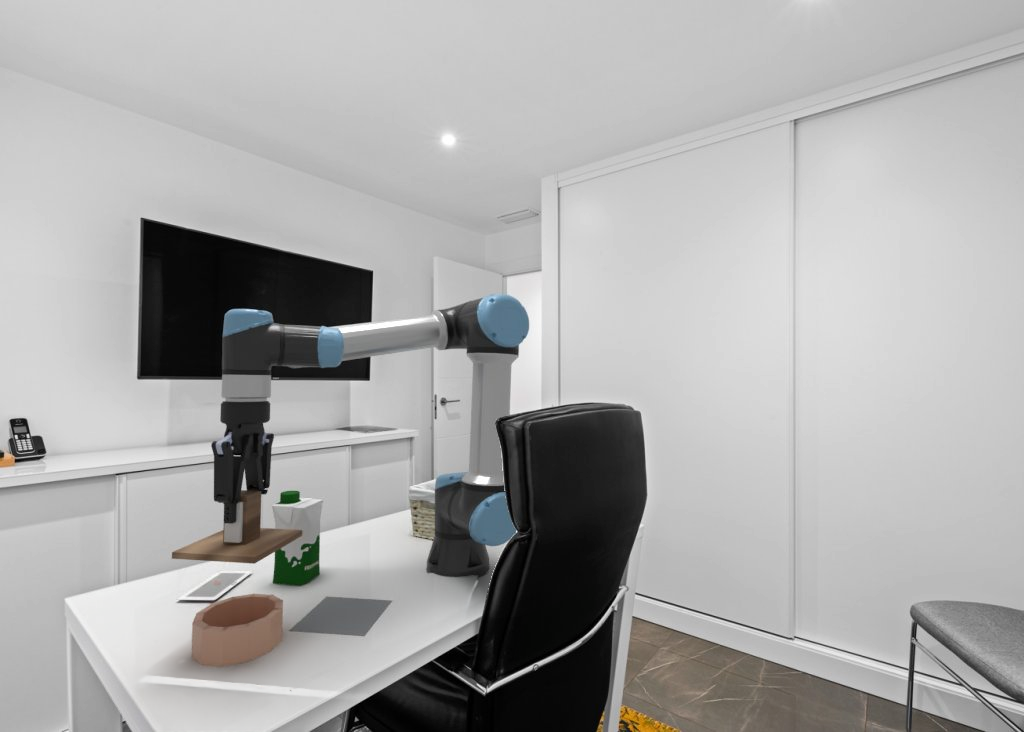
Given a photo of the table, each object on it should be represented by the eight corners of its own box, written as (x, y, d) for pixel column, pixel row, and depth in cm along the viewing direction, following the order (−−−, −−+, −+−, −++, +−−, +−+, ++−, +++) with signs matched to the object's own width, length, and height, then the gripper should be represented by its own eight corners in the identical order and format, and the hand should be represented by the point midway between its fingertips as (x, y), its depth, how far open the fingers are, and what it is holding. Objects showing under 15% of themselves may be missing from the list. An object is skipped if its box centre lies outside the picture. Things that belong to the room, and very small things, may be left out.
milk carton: (291, 573, 117) (293, 487, 118) (326, 576, 115) (327, 489, 116) (265, 588, 109) (267, 496, 109) (303, 592, 107) (304, 498, 107)
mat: (392, 605, 101) (392, 600, 101) (364, 641, 87) (364, 635, 87) (326, 601, 103) (326, 596, 103) (288, 636, 89) (288, 630, 89)
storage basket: (451, 546, 137) (452, 492, 138) (404, 537, 145) (405, 486, 145) (494, 524, 159) (494, 477, 159) (451, 517, 166) (452, 472, 166)
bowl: (297, 631, 91) (297, 596, 91) (250, 675, 77) (251, 633, 78) (229, 627, 92) (229, 592, 92) (172, 668, 79) (173, 627, 79)
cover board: (302, 535, 91) (303, 486, 92) (254, 563, 77) (256, 505, 78) (231, 531, 93) (232, 483, 93) (171, 558, 79) (173, 501, 79)
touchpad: (176, 605, 102) (176, 594, 102) (219, 575, 117) (219, 566, 117) (214, 605, 102) (214, 594, 102) (252, 576, 117) (253, 566, 117)
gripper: (256, 397, 95) (253, 521, 94) (188, 401, 78) (183, 553, 77) (293, 398, 94) (290, 523, 93) (233, 402, 77) (228, 555, 76)
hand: (242, 536), depth 85 cm, fingers closed on cover board, 4 cm apart
